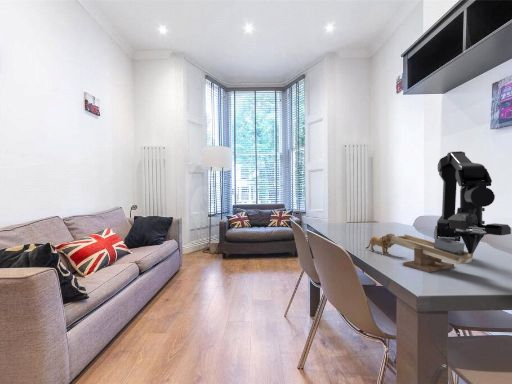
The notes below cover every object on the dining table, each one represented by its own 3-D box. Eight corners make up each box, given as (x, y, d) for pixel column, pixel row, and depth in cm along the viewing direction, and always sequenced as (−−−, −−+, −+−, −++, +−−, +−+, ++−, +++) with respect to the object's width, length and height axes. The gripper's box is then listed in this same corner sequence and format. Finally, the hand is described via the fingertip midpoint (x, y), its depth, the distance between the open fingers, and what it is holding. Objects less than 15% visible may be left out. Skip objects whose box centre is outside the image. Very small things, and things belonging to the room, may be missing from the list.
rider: (442, 250, 104) (443, 237, 103) (463, 256, 97) (464, 243, 97) (433, 251, 102) (434, 239, 101) (454, 258, 95) (455, 244, 95)
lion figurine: (399, 254, 124) (399, 233, 124) (392, 256, 121) (392, 234, 121) (368, 248, 136) (368, 229, 136) (361, 250, 133) (361, 230, 133)
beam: (405, 240, 119) (405, 234, 119) (472, 261, 97) (473, 253, 96) (391, 242, 115) (391, 236, 115) (457, 264, 93) (458, 256, 93)
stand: (427, 260, 114) (427, 242, 113) (454, 266, 105) (454, 247, 104) (402, 265, 108) (402, 246, 107) (428, 272, 98) (428, 251, 98)
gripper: (426, 204, 98) (426, 250, 98) (490, 207, 81) (490, 263, 81) (447, 202, 103) (447, 247, 103) (511, 205, 86) (511, 258, 86)
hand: (470, 253), depth 93 cm, fingers closed
